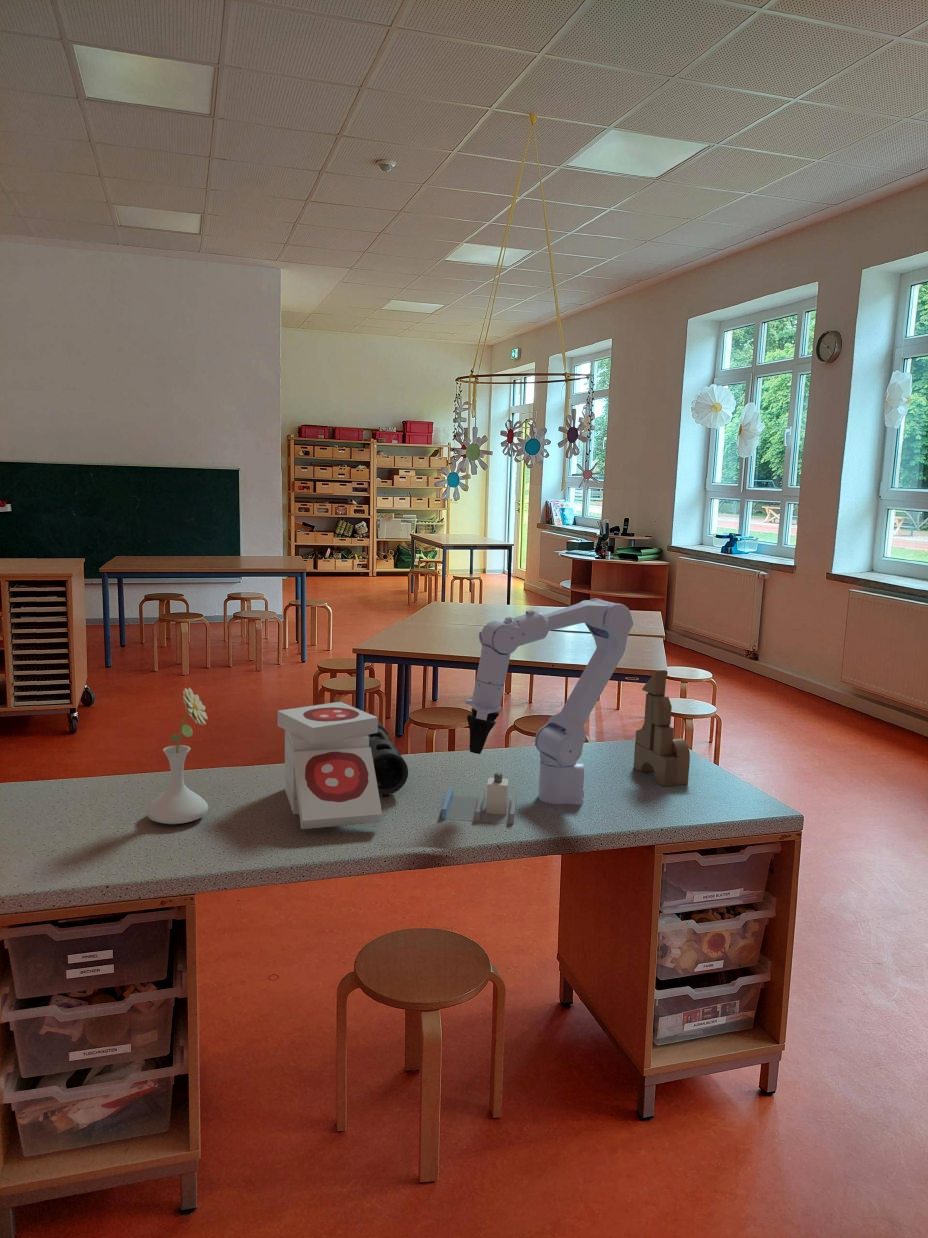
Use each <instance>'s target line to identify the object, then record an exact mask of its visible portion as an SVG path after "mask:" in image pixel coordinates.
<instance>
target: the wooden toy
mask: <svg viewBox="0 0 928 1238" xmlns="http://www.w3.org/2000/svg"><path fill="white" fill-rule="evenodd" d="M666 681H667V670H666V669H665V670H663V669H662V670H655V672H654V673H653V674H652V676H651V677H650V678H649V680H648V681H647V682H646V683H645V684H644V685H643V686H642V688H641V690H642V691H643V692H646V694H645V703H644V706H645V707H644V718H643V720H644V722H643V724H642V726H641V728H640V729H637V730H635V740H634V741H635V742H634V754H633V755H634V756H633V769H635V770H637V771H638V772H640V773H645V772H646V773H647V772H653V771H654V774H655V782H656V783H657V784H660V785H662V786H663V787H672V786H673V787H674V786H679V785H688V784H689V774H690V764H691V763H690V761H691V754H690V753H691V752H690V749H689V745H688V743H687V742H686V740H685V738H674V734H675V733H674V732H675V728H674V727H672V726H671V723H672V710H673V709H672V708H673V707H672V703H671V700H670V698H669V696H667V695H665V694H666V685H667V682H666Z"/></svg>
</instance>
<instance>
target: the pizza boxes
mask: <svg viewBox="0 0 928 1238" xmlns="http://www.w3.org/2000/svg"><path fill="white" fill-rule="evenodd" d="M378 722H379V717H377V716H376V715H373V714H371V713H368V712H366V711H363V710H361V709H359V708H356V707H354V706H352V705H349V704H347V703H344V702H343V701H336V702H329V703H323V704H315V705H314V704H313V705H308V706H302V707H295V708H287V709H286V708H285V709H280V710H277V727H279V728H281V729H283V730H284V791H285V795H286V797H287V799H288V803H289V806H290V808H291V811H293V812H292V814H297V815H298V816H299V823H300V824H299V825H300V830H306V829H307V830H308V829H318V828H331V827H342V826H353V825H363V824H366V825H367V824H375V823H377V824H378V823H380V822H381V819H382V816H383V810H382V804H381V798H380V794H379V792H378V786H377V781H376V775H375V769H374V763H373V758H372V752H371V747H369V737H368V734H373V733H378Z"/></svg>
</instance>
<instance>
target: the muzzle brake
mask: <svg viewBox="0 0 928 1238" xmlns="http://www.w3.org/2000/svg"><path fill="white" fill-rule="evenodd" d="M368 737H369V747H371V752H372V758H373V763H374V769H375V775H376V781H377V786H378V792H379V795H381V796H382V798H383V799H384V798H389V797H390V795H392V794H395V793H397V792H398V791H400V790H401V789H402V788H403V787H404V785H405V784H406V782H407V780H408V778H409V768H408V765H407V763H406V761H405V759H404V758H403V756H402V754H401V753H400V751H399V750H398V748H397V747H396V745H395V744H394V743H393V740H392V739H391V738H390V735H389V733H388V731H387V730H386V728H385V726H384V725H383V723H381V722H380V721H378V733H373V734H368Z"/></svg>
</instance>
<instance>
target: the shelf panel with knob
mask: <svg viewBox="0 0 928 1238" xmlns="http://www.w3.org/2000/svg"><path fill="white" fill-rule="evenodd" d="M454 787H455V786H453V785H452V786H451V785H450V786H449V787H448V791H447V794H446V796H445V799H444V802H443V805H442V807H441V820H452V821H463V822H464V821H465V822H482V823H490V824H491V823H492V824H493V823H494V824H507V825H514V824H515V817H516V809H517V801H518V800H517V799H518V790H513V791H512V798H511V799H508V803H507V813H506V815H504V814H490V813H486V803H487V797H486V788H480V793H479V797H478V796H477V797H475V796H463V795H462V796H461V795H454V792H455V789H454Z"/></svg>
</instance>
